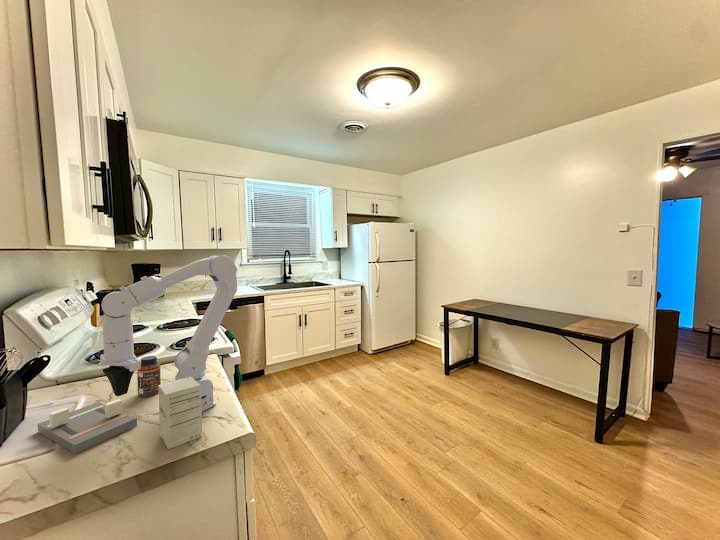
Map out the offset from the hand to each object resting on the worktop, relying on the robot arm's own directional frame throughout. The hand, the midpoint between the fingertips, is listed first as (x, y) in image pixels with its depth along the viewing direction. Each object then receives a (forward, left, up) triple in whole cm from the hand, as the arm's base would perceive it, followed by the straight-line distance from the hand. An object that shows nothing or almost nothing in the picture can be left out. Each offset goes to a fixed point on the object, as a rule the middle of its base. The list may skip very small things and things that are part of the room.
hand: (121, 394), depth 74 cm
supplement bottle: (+14, -14, -9) cm, 22 cm away
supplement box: (-17, -4, -9) cm, 19 cm away
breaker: (+10, +8, -6) cm, 14 cm away
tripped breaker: (+4, 0, -6) cm, 7 cm away
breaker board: (+7, +4, -8) cm, 12 cm away
